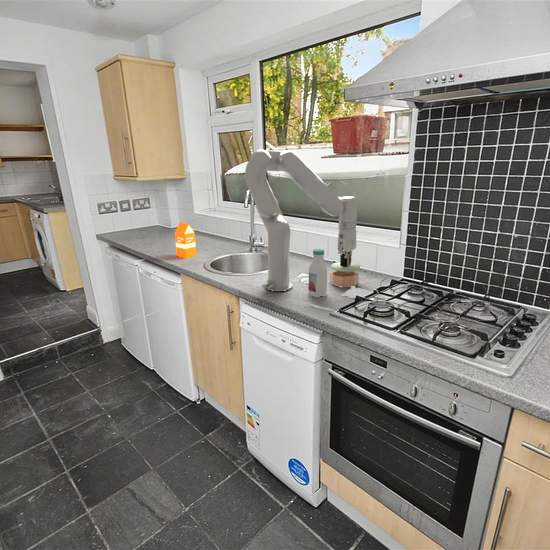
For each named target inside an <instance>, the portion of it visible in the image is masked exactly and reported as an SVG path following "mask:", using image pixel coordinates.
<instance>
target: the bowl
mask: <svg viewBox="0 0 550 550" xmlns="http://www.w3.org/2000/svg"><path fill="white" fill-rule="evenodd" d="M359 275H360V273H358V272H357V271H353V272H341V271H336V270H333V271H331V272H330V273H329V282H330V284H331V283H332V284H333V285H337V286H342V287H350V288H351V286H355V285H358V283H359ZM332 284H331V285H332ZM333 285H332V286H333ZM355 287H356V286H355Z"/></svg>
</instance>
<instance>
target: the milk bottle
mask: <svg viewBox="0 0 550 550" xmlns="http://www.w3.org/2000/svg"><path fill="white" fill-rule="evenodd" d="M312 256H313V257H312V260H311V263H310V264H309V266H308V289H307V291H308V293H307V294H308V296H309V295H311V296H310V297H312V296H314V297H313V298H321V297H320V296H324V295H326V296H327V290H328V289H327V288H328V287H327V285H328V267H327V264H326V262H325V258H324V256H325V249H322V248H315V249H314V248H313V250H312ZM324 297H325V296H324Z"/></svg>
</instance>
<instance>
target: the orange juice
mask: <svg viewBox="0 0 550 550" xmlns="http://www.w3.org/2000/svg"><path fill="white" fill-rule="evenodd" d="M174 235H175V236H174V238H175V248H176V250H175V251H176V257H177V256H179V258H181V257H183V258H182V259H185V258H188V259H190V258H189V257H191V258H194V257H193V256H195V257H197V248H196V247H197V246H196V235H195V231H194V229H193V228H192V227H191V225H190V223H186V222H178V225H177V227H176V229H175V232H174Z"/></svg>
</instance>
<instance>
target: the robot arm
mask: <svg viewBox="0 0 550 550" xmlns="http://www.w3.org/2000/svg"><path fill="white" fill-rule="evenodd" d="M267 172H284V173H285V174H286V176H288V178H290V179H291V181H293V183H294V184H296V185H297V187H299V188H300V190H301V191H302V192H304V193H305V194H307V196H309V197H311V198H312V199H313V200H314V201H315V202H317V204H318V205H319V206H320V208H321V210H322V211H323V212H324V213H325V214H327V215H328V216H330V217H338V236H337V237H338V238H337V251H338V252H337V253H338V255H339V258H340V259H339V260H340V261H339V262H340V266H343V267H347V253H348V254H350V255H349V265H351V262H352V254H353V251H354V250H356V249H357V212H358V199H357V197H356V196H351V195H350V196H348V195H347V196H345V195H344V196H342V197H341V196H338V195H337V194H336V193H335V192H334V191H333V190H332V189H331V188H330V187H329V186H328V185H327V184H326V183H325V182H324V181H323V180H322V179H321V178H320V177H319V176H318V175H317V174H316V173H315V172H314V171H313V170H312V169H311V168H310V166H309V165H308V164H307V163H306V162H305V161H304V160H303V159H302V158H301V157H300V156H299V155H298V154H297V153H296V152H295V151H293V150H265V149H257V150H255V151H253V152H252V153H251V155H250V158H249V160H248V161H247V164H246V166H245V172H244V177H245V178H244V179H245V182H246V185H247V188H248V190H249V192H250V194H251V198H252V199H253V202H254V204H255V208H256V210H257V212H258V215H259V216H260V219H261V220H262V223H263V225H264V227H265V229H266V232H267V275H268V276H267V280H266V283H264V284H262V286H261V287H262V289H265V290H267V289H269V290H273V291H284V290H288V289H291V288H292V287H294V286H293V283H291V281H290V243H291V242H290V241H291V226H290V224H289V222H288V221H287V220H286V219H285V216H284V214H283V212H282V210H281V208H280V206H279V201H278V199H277V198H276V197H275V195H274V192H273V190H272V188H271V186H270V183H269V181H268V178H267ZM344 253H345V254H344ZM266 288H267V289H266ZM292 289H293V288H292ZM292 289H291V290H292ZM269 290H268V291H269ZM273 291H272V292H273Z"/></svg>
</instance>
